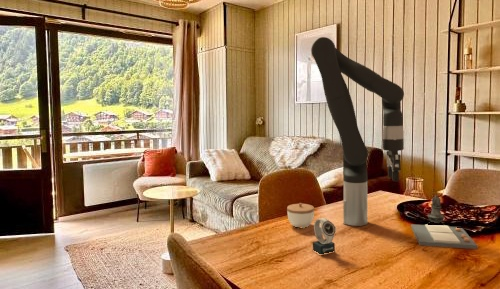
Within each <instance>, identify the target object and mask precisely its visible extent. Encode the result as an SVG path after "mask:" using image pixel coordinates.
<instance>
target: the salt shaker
mask: <svg viewBox="0 0 500 289" xmlns="http://www.w3.org/2000/svg"><path fill="white" fill-rule="evenodd" d="M430 207H431V212H430V213H428V214H427V217H428V220H429V221H430V222H434V223H440V222H441V223H442V222H444V219H445V215H443V214H442V213H441V212H442V211H441V208H442V206H441V198H440V197H439V196H438V195H437V194H435V196H434V197H432V199H431V205H430Z"/></svg>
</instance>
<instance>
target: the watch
mask: <svg viewBox="0 0 500 289" xmlns="http://www.w3.org/2000/svg"><path fill="white" fill-rule="evenodd" d="M313 229H314V230H313V231H314V234H315V238H316V241H313V242H312V251H313V250H314V251H316V252H318V253H319V254H324V253H329V252H333V251H335V252H336V250H335V246H336V244H335V242H334V238H335V234H336V226H335V224H334V223H333V222H332V221H330V220H329V219H327V218H325V217H322V218H317V219H316V220H315V221H314V224H313Z"/></svg>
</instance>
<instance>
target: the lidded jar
mask: <svg viewBox="0 0 500 289" xmlns="http://www.w3.org/2000/svg"><path fill="white" fill-rule="evenodd" d="M286 212H287V218H288V221H289V223H290V225H292V226H295V227H302V228H303V229H305V228H304V227H307V228H309V227H308V226H310V225H311V224H312V223H313V220H314V215H315V207H314V206H313V205H311V204H308V203H302V202H299V203H293V204H289V205H287V208H286ZM295 227H294V228H295Z"/></svg>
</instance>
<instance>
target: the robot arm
mask: <svg viewBox="0 0 500 289" xmlns="http://www.w3.org/2000/svg"><path fill="white" fill-rule="evenodd" d="M310 53H311V57H312V58H313V59H314V62H315V64H316V66H317V69H318V70H319V71H318V72H319V74H320V77H321V81H322V86H323V91H324V92H323V93H324V96H325V100H326V105H327V107H328V110H329V113H330V115H331V117H332V120H333V122H334V125H335V126H336V127H335V128H337V131H338V133H339V134H338V135H339V138H340V142H341V147H342V173H343V174H342V175H343V178H342V179H343V181H342V182H343V201H342V202H343V208H342V209H343V213H342V214H343V225H349V226H353V227H357V226H358V227H362V226H366V225H368V218H369V217H368V169H367V168H368V163H367V162H368V161H367V159H368V155H369V151H368V148H367V146H366V145H365V142H364V140H363V137H362V135H361V133H360V130H359V126H358V121H357V117H356V111H355V107H354V103H353V100H352V97H351V94H350V91H349V87H348V86H347V83H346V81H345V79H344V76H343V75H345V76H346V77H348V78H349V79H350V80H351V81H353V82H354V83H356V84H357V85H359V86H361V88H364V89H365V90H367V91H369V92H371V93H374V94H376V95H377V96H378V97H380V98H381V104H382V112H383V113H382V116H383V118H382V124H383V126H382V150H384V151H386V167H387V177H388V178H391V179H392V182H397V183H398V182H399V181H400V171H401V170H402V169H401V167H402V166H401V165H402V164H401V154H400V153H399V151H403V150H404V149H405V146H404V142H405V141H404V136H405V135H404V133H405V132H404V114H403V111H402V105H401V104H402V103H401V102H402V100H403V99H404V98H405V92H404V90H403V88H402V87H401V86H400V85H398V84H397V83H396V82H393V81H392V80H389V79H387V78H385V77H383V76H381V75H380V74H379V73H377V72H376V71H374V70H372V69H371V68H369V67H367V66H366V65H364V64H361V63H360V62H357V61H355V60H353V59H351V58H350V57H348V56H347V55H345V54H344V53H342V52H341V51H340V50H339V49H338V48H337V47H336V45H335V43H334V41H333V40H332V39H331V38H329V37H325V36H320V37H318V38H316V39H315V40H314V42H313V43H312V45H311V50H310ZM342 74H343V75H342Z"/></svg>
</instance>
